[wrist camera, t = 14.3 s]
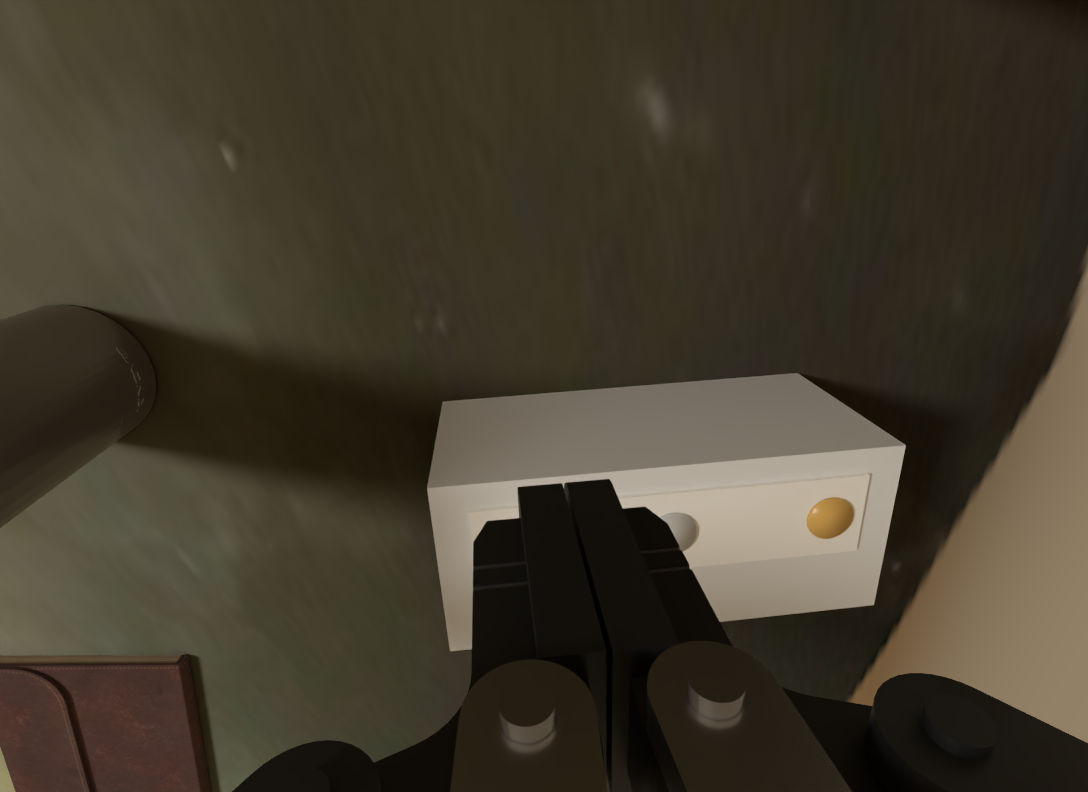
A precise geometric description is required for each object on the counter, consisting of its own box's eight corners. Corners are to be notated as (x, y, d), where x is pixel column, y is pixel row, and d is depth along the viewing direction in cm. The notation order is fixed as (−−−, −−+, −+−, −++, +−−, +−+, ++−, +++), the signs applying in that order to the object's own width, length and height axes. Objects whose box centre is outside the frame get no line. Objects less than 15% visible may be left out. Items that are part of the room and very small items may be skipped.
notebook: (191, 649, 48) (180, 668, 46) (218, 812, 55) (209, 835, 53) (-12, 650, 46) (-33, 670, 44) (43, 819, 53) (27, 842, 51)
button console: (458, 532, 45) (449, 658, 34) (442, 401, 41) (426, 493, 30) (782, 501, 47) (879, 610, 36) (797, 373, 43) (911, 449, 32)
